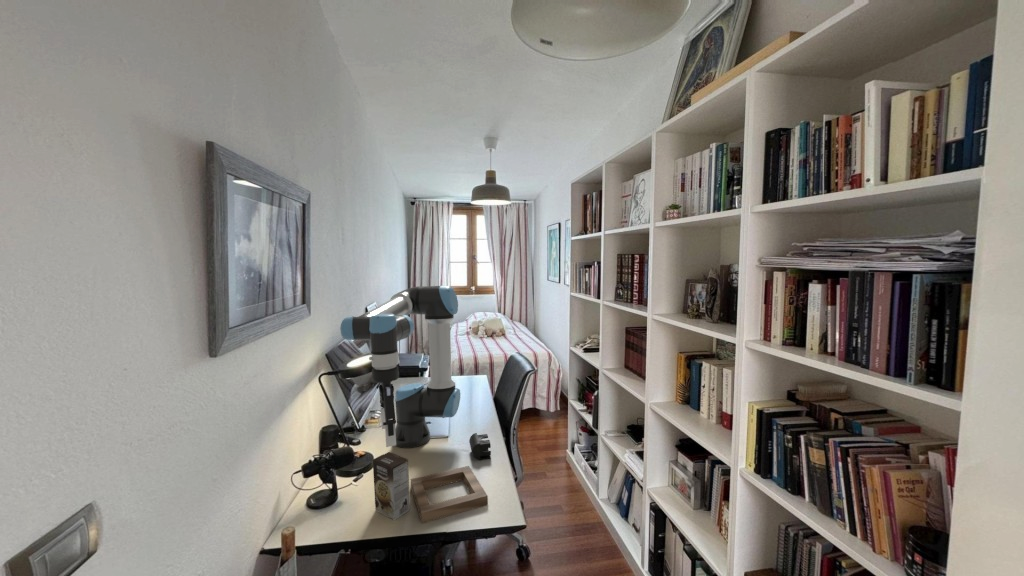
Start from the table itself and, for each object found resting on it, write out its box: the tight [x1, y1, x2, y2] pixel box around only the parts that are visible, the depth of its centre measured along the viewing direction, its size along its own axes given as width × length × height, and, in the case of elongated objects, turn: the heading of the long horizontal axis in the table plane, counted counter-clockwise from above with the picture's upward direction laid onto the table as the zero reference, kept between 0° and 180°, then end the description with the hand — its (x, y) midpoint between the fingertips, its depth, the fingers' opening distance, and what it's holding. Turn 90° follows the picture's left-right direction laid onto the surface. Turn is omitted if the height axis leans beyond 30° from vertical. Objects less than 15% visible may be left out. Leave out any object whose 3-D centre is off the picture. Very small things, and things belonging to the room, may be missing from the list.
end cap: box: [468, 432, 492, 461], centre depth 157 cm, size 10×7×7 cm
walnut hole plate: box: [410, 465, 489, 524], centre depth 130 cm, size 20×20×3 cm
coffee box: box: [372, 451, 411, 521], centre depth 123 cm, size 9×6×16 cm
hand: (388, 436), depth 122 cm, fingers open, 13 cm apart
